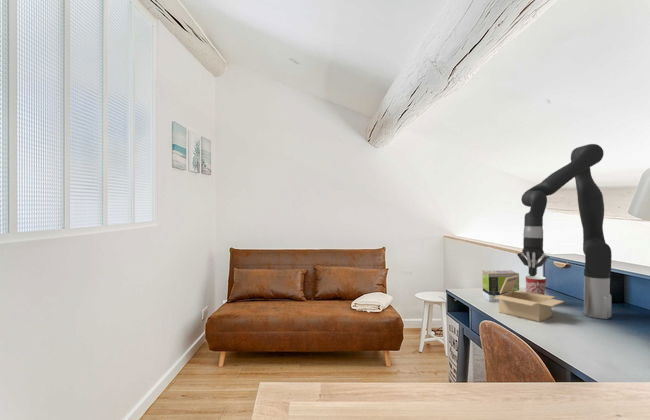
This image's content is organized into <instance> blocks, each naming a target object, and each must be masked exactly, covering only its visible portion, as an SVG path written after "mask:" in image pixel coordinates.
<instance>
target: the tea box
mask: <svg viewBox="0 0 650 420" xmlns="http://www.w3.org/2000/svg"><path fill="white" fill-rule="evenodd" d="M516 275H518V279H517V281H516V283H515V285H514V287H513V289H512V290H511V291H508V292H504V293H501V294H500V291H501V288H502V286H503V284H504V282H505V280H506V278H508V277H512V276H516ZM518 290H519V291H520V274H519V272H516V271H514V270H512V269H511V270H510V269H509V270H508V269H507V270H506V269H504V270H503V269H502V270H500V269H499V270H498V269H497V270H495V269H493V270H492V269H490V270H488V269H487V270H482V297H483V299H485V300H486V301H487V302H489V303H490V302H492V303H496V302H497V303H499V299H496V298H495V297H497V296H499V295H502V294H505V293H509V292H512V291H513V292H515V291H518Z"/></svg>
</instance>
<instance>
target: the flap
mask: <svg viewBox="0 0 650 420" xmlns="http://www.w3.org/2000/svg"><path fill="white" fill-rule="evenodd" d="M517 279H518V275H516V276H512V277H508V278H506V280H505V282H504V284H503V286H502V288H501V291H500V294H501V293H504V292H508V291H511V290H512V289H513V287H514V285H515V283H516V281H517Z"/></svg>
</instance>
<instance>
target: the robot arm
mask: <svg viewBox="0 0 650 420" xmlns="http://www.w3.org/2000/svg"><path fill="white" fill-rule="evenodd" d="M570 153H571V154H570V162H569V163H568V164H566V165H564V166H562V167H560V168H559V169H557V170H555V171H554V172H552V173H550V174H549V175H548V176H547V177H546V178H544V179H543V180H542V181H541V182H540V183H538V184H536V185H534V186H532V187H531V188H529V189H527V190H526V191H525V192H523V194H522V196H521V198H520V199H521V203H522V205H524V206H525V207H529V208H530V209H529V211H528V212H526V213H525V215H524V218H523V219H524V223H523V224H524V226H523V234H522V235H523V236H522V237H523V238H522V239H523V240H522V241H523V243H522V245H523V248H522V251H521V252H519V253H517V257H518V258H519V259H520V261H521V263H522V264H523V265H524V266H527V267H528V275H529V276H537V274H538V268H540V267H543V265H544V264H545V263H546V262H547V261H548V260H549V259H550V256H549V255H546V254H545V252H544V229H543V226H544V221H543V220H544V215H545V211H546V208H547V205H548V196H552V195H553V194H555V193H556V192H558V191H559V190H560V189H561V188H562V187H564V186H565V185H566V184H567V183H569V182H570V181H571V180H573V179H575V181H574V182H575V187H576V195H577V204H578V212H579V217H580V223H581V226H582V227H581V228H582V234H583V236H582V237H583V238H582V239H583V241H582V242H583V243H582V252H583V254H584V256H585V258H584V261H585V262H584V269H583V314H584V315H585V316H586V317H591V318H595V319H604V320H608V319H609V318H611V317H612V294H611V292H610V291H611V290H610V288H611V287H610V286H611V285H610V284H611V272H612V249H611V247H610V245H609V244H608V243H607V242H606V240H605V235H604V228H603V225H604V219H605V217H604V216H605V201H604V196H603V193H602V190H601V189H600V187H599V186H598V184H596V182H595V180H594V178H593V176H592V172H591V171H592V170H591V167H593V166H595V165H597V164H598V163H600V162H601V161H602V160H603V157H604V154H605V153H604V148H602V146H601V145H599V144H596V143H590V144H584V145H581V146H578V147H576V148H574V149H573V150H571V152H570ZM540 259H541V260H540Z"/></svg>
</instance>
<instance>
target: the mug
mask: <svg viewBox="0 0 650 420" xmlns="http://www.w3.org/2000/svg"><path fill="white" fill-rule="evenodd" d="M546 281H547V277H545V276H541V275H535V276H530V275H525V292H531V293H536V294H542V295H546Z"/></svg>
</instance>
